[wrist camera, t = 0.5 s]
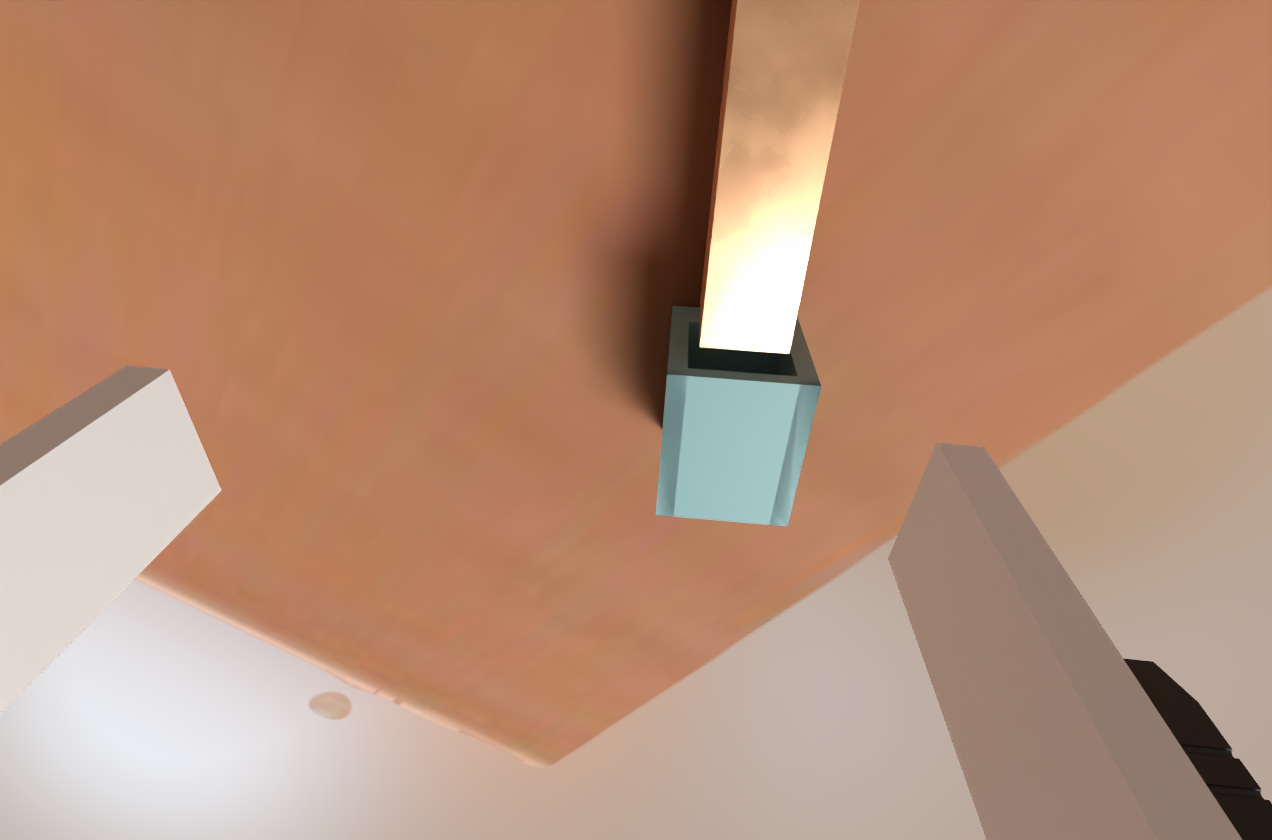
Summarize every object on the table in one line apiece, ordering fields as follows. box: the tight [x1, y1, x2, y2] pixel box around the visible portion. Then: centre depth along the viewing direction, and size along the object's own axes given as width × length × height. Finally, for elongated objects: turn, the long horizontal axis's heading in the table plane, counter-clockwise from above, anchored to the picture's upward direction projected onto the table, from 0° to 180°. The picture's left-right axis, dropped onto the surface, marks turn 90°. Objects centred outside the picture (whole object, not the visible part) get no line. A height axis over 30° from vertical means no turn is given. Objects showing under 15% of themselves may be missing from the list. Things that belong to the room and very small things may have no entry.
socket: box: [656, 306, 821, 526], centre depth 35 cm, size 9×7×9 cm
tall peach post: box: [699, 0, 860, 354], centre depth 25 cm, size 26×4×4 cm, turn 178°
